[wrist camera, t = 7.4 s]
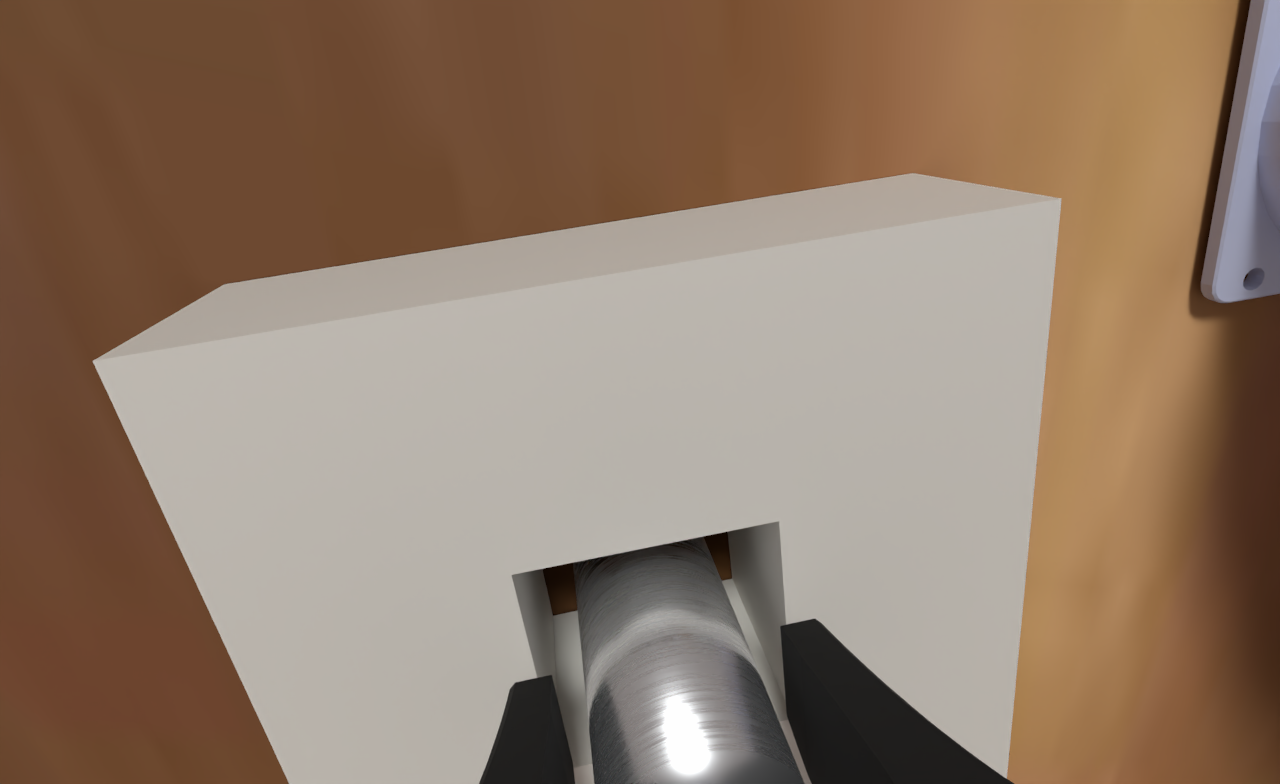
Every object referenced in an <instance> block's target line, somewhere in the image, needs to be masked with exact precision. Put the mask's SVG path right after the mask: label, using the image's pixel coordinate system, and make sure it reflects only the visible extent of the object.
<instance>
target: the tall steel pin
mask: <svg viewBox="0 0 1280 784" xmlns="http://www.w3.org/2000/svg"><path fill="white" fill-rule="evenodd" d="M573 570H574V580H575V591H576V601H577V611H578V621H579V632H580V642H581V652H582V662H583V673H584V683H585V693H586V703H587V714H588V724H589V734H590V744H591V755H592V765H593V775H594V784H805V783H804V781H803V778H802V776H801V774H800V771H799V769H798V766H797V764H796V761H795V759H794V756H793V754H792V752H791V749H790V747H789V744H788V742H787V739H786V737H785V734H784V732H783V730H782V727H781V725H780V722H779V720H778V717H777V715H776V712H775V710H774V708H773V705H772V703H771V700H770V698H769V695H768V693H767V690H766V688H765V686H764V683H763V681H762V678H761V676H760V673H759V671H758V668H757V666H756V664H755V661H754V659H753V656H752V654H751V651H750V649H749V646H748V644H747V642H746V639H745V637H744V634H743V632H742V629H741V627H740V624H739V622H738V620H737V617H736V615H735V612H734V610H733V607H732V605H731V602H730V600H729V598H728V595H727V593H726V590H725V588H724V585H723V583H722V580H721V578H720V576H719V573H718V571H717V568H716V566H715V563H714V561H713V558H712V556H711V554H710V551H709V549H708V546H707V544H706V541H705V539H704V536H703V537H698V538H693V539H688V540H683V541H678V542H673V543H668V544H663V545H658V546H653V547H648V548H643V549H638V550H633V551H628V552H623V553H618V554H613V555H608V556H603V557H598V558H593V559H588V560H583V561H579V562H574V563H573Z"/></svg>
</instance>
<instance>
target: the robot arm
mask: <svg viewBox="0 0 1280 784" xmlns="http://www.w3.org/2000/svg"><path fill="white" fill-rule="evenodd" d="M1247 273H1248V276H1247V278H1246V280H1245V281H1244V278H1245V276H1246V274H1247ZM1243 281H1244V282H1243ZM1201 292H1202V294H1203V296H1204V297H1206V298H1207V299H1209V300H1212V301H1215V302H1219V303H1232V302H1237V301H1243V300H1248V299H1254V298H1259V297H1264V296H1270V295H1275V294H1280V0H1251V2H1250V8H1249V14H1248V19H1247V25H1246V31H1245V36H1244V42H1243V48H1242V53H1241V59H1240V64H1239V70H1238V76H1237V81H1236V87H1235V93H1234V98H1233V104H1232V110H1231V115H1230V121H1229V127H1228V132H1227V138H1226V143H1225V149H1224V155H1223V160H1222V166H1221V172H1220V177H1219V183H1218V189H1217V194H1216V200H1215V206H1214V211H1213V217H1212V222H1211V228H1210V234H1209V239H1208V245H1207V251H1206V256H1205V262H1204V268H1203V273H1202V279H1201ZM780 630H781V644H782V658H783V671H784V685H785V699H786V712H787V718H788V721H789V723H790V726H791V729H792V732H793V735H794V738H795V741H796V744H797V747H798V749H799V752H800V755H801V758H802V760H803V763H804V766H805V769H806V771H807V774H808V777H809V779H810V781H811V783H812V784H1014V783H1012V782H1011V781H1009V780H1008V779H1006V778H1005V777H1003V776H1002V775H1000V774H999V773H998V772H996V771H995V770H993V769H992V768H990V767H989V766H988V765H986V764H985V763H984V762H982V761H981V760H979V759H978V758H977V757H975V756H974V755H973V754H971V753H970V752H969V751H967V750H966V749H965V748H963V747H962V746H961V745H959V744H958V743H957V742H955V741H954V740H953V739H952V738H950V737H949V736H948V735H946V734H945V733H944V732H943V731H941V730H940V729H939V728H937V727H936V726H935V725H934V724H932V723H931V722H930V721H929V720H928V719H926V718H925V717H924V716H923V715H921V714H920V713H919V712H918V711H917V710H915V709H914V708H913V707H912V706H911V705H910V704H908V703H907V702H906V701H905V700H904V699H903V698H901V697H900V696H899V695H898V694H897V693H896V692H894V691H893V690H892V689H891V688H890V687H889V686H887V685H886V684H885V683H884V682H883V681H882V680H881V679H880V678H878V677H877V676H876V675H875V674H874V673H873V672H872V671H871V670H870V669H869V668H868V667H866V666H865V665H864V664H863V663H862V662H861V661H860V660H859V659H858V658H857V657H856V656H855V655H854V654H853V653H851V652H850V651H849V650H848V649H847V648H846V647H845V646H844V645H843V644H842V643H841V642H840V641H839V640H838V639H837V638H836V637H835V636H834V635H833V634H832V633H831V632H830V631H829V630H828V629H827V628H826V627H825V626H824V625H823V624H822V623H821V622H819V621H818V620H816V619H810V620H806V621H801V622H796V623H791V624H787V625H782V626H780ZM479 784H575V778H574V768H573V761H572V757H571V753H570V749H569V744H568V740H567V736H566V732H565V728H564V724H563V719H562V715H561V711H560V707H559V703H558V699H557V694H556V690H555V686H554V682H553V678H552V675H548V676H543V677H539V678H534V679H529V680H525V681H520V682H515V683H514V685H513V686H512V687H511V688H510V690H509V694H508V698H507V702H506V706H505V709H504V713H503V716H502V720H501V723H500V726H499V729H498V733H497V736H496V739H495V741H494V744H493V747H492V750H491V753H490V756H489V759H488V762H487V764H486V767H485V769H484V772H483V775H482V777H481V780H480V782H479Z"/></svg>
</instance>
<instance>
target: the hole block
mask: <svg viewBox="0 0 1280 784" xmlns="http://www.w3.org/2000/svg"><path fill="white" fill-rule="evenodd" d="M1060 209H1061V198H1055V197H1049V196H1043V195H1038V194H1032V193H1026V192H1020V191H1014V190H1008V189H1002V188H997V187H991V186H985V185H979V184H973V183H967V182H961V181H956V180H950V179H944V178H938V177H932V176H926V175H921V174H915V173H911V174H905V175H899V176H893V177H886V178H880V179H874V180H868V181H862V182H855V183H849V184H843V185H837V186H831V187H825V188H818V189H812V190H806V191H800V192H794V193H787V194H781V195H775V196H769V197H763V198H756V199H750V200H744V201H738V202H732V203H726V204H719V205H713V206H707V207H701V208H695V209H688V210H682V211H676V212H670V213H664V214H657V215H651V216H645V217H639V218H633V219H626V220H620V221H614V222H608V223H602V224H596V225H589V226H583V227H577V228H571V229H565V230H558V231H552V232H546V233H540V234H534V235H527V236H521V237H515V238H509V239H503V240H497V241H490V242H484V243H478V244H472V245H466V246H459V247H453V248H447V249H441V250H435V251H428V252H422V253H416V254H410V255H404V256H397V257H391V258H385V259H379V260H373V261H367V262H360V263H354V264H348V265H342V266H336V267H329V268H323V269H317V270H311V271H305V272H298V273H292V274H286V275H280V276H274V277H268V278H261V279H255V280H249V281H243V282H237V283H230V284H224V285H223V286H221V287H219V288H217V289H216V290H214V291H212V292H211V293H209V294H207V295H205V296H204V297H202V298H200V299H199V300H197V301H195V302H193V303H192V304H190V305H188V306H186V307H185V308H183V309H181V310H180V311H178V312H176V313H174V314H173V315H171V316H169V317H168V318H166V319H164V320H162V321H161V322H159V323H157V324H156V325H154V326H152V327H150V328H149V329H147V330H145V331H144V332H142V333H140V334H138V335H137V336H135V337H133V338H132V339H130V340H128V341H126V342H125V343H123V344H121V345H119V346H118V347H116V348H114V349H113V350H111V351H109V352H107V353H106V354H104V355H102V356H101V357H99V358H97V359H95V360H94V361H93V363H94V365H95V367H96V369H97V371H98V374H99V376H100V378H101V380H102V382H103V384H104V387H105V389H106V391H107V393H108V395H109V397H110V399H111V402H112V404H113V406H114V408H115V410H116V412H117V414H118V417H119V419H120V421H121V423H122V425H123V427H124V430H125V432H126V434H127V436H128V438H129V440H130V442H131V445H132V447H133V449H134V451H135V453H136V455H137V457H138V460H139V462H140V464H141V466H142V468H143V470H144V472H145V475H146V477H147V479H148V481H149V483H150V485H151V488H152V490H153V492H154V494H155V496H156V498H157V500H158V503H159V505H160V507H161V509H162V511H163V513H164V515H165V518H166V520H167V522H168V524H169V526H170V528H171V531H172V533H173V535H174V537H175V539H176V541H177V543H178V546H179V548H180V550H181V552H182V554H183V556H184V558H185V561H186V563H187V565H188V567H189V569H190V571H191V574H192V576H193V578H194V580H195V582H196V584H197V586H198V589H199V591H200V593H201V595H202V597H203V599H204V601H205V604H206V606H207V608H208V610H209V612H210V614H211V616H212V619H213V621H214V623H215V625H216V627H217V629H218V632H219V634H220V636H221V638H222V640H223V642H224V644H225V647H226V649H227V651H228V653H229V655H230V657H231V659H232V662H233V664H234V666H235V668H236V670H237V672H238V675H239V677H240V679H241V681H242V683H243V685H244V687H245V690H246V692H247V694H248V696H249V698H250V700H251V702H252V705H253V707H254V709H255V711H256V713H257V715H258V717H259V720H260V722H261V724H262V726H263V728H264V730H265V733H266V735H267V737H268V739H269V741H270V743H271V745H272V748H273V750H274V752H275V754H276V756H277V758H278V760H279V763H280V765H281V767H282V769H283V771H284V773H285V776H286V778H287V780H288V782H289V784H479V782H480V780H481V777H482V775H483V772H484V769H485V767H486V764H487V762H488V759H489V756H490V753H491V750H492V747H493V744H494V741H495V739H496V736H497V733H498V729H499V726H500V723H501V720H502V716H503V713H504V709H505V706H506V702H507V698H508V694H509V690H510V688H511V687H512V686H513V685H514V683H515V682H520V681H525V680H529V679H534V678H539V677H543V676H548V675H552V678H553V682H554V686H555V690H556V694H557V699H558V703H559V707H560V711H561V715H562V719H563V724H564V728H565V732H566V736H567V740H568V744H569V749H570V753H571V757H572V761H573V768H574V778H575V784H594V775H593V765H592V755H591V744H590V734H589V724H588V714H587V703H586V693H585V683H584V673H583V662H582V652H581V642H580V632H579V621H578V611H573V612H568V613H564V614H559V615H554V616H553V613H552V609H551V604H550V600H549V596H548V591H547V587H546V583H545V578H544V574H543V570H542V569H544V568H549V567H554V566H559V565H564V564H569V563H574V562H579V561H583V560H588V559H593V558H598V557H603V556H608V555H613V554H618V553H623V552H628V551H633V550H638V549H643V548H648V547H653V546H658V545H663V544H668V543H673V542H678V541H683V540H688V539H693V538H698V537H703V536H708V535H713V534H718V533H723V532H727V533H728V543H729V553H730V562H731V572H732V579H728V580H723V581H722V583H723V585H724V588H725V590H726V593H727V595H728V598H729V600H730V602H731V605H732V607H733V610H734V612H735V615H736V617H737V620H738V622H739V624H740V627H741V629H742V632H743V634H744V637H745V639H746V642H747V644H748V646H749V649H750V651H751V654H752V656H753V659H754V661H755V664H756V666H757V668H758V671H759V673H760V676H761V678H762V681H763V683H764V686H765V688H766V690H767V693H768V695H769V698H770V700H771V703H772V705H773V708H774V710H775V712H776V715H777V717H778V720H779V722H780V725H781V727H782V730H783V732H784V734H785V737H786V739H787V742H788V744H789V747H790V749H791V752H792V754H793V756H794V759H795V761H796V764H797V766H798V769H799V771H800V774H801V776H802V778H803V781H804V783H805V784H812V783H811V781H810V779H809V777H808V774H807V771H806V769H805V766H804V763H803V760H802V758H801V755H800V752H799V749H798V747H797V744H796V741H795V738H794V735H793V732H792V729H791V726H790V723H789V721H788V718H787V712H786V699H785V685H784V671H783V658H782V644H781V630H780V626H782V625H787V624H791V623H796V622H801V621H806V620H810V619H816V620H818V621H819V622H821V623H822V624H823V625H824V626H825V627H826V628H827V629H828V630H829V631H830V632H831V633H832V634H833V635H834V636H835V637H836V638H837V639H838V640H839V641H840V642H841V643H842V644H843V645H844V646H845V647H846V648H847V649H848V650H849V651H850V652H851V653H853V654H854V655H855V656H856V657H857V658H858V659H859V660H860V661H861V662H862V663H863V664H864V665H865V666H866V667H868V668H869V669H870V670H871V671H872V672H873V673H874V674H875V675H876V676H877V677H878V678H880V679H881V680H882V681H883V682H884V683H885V684H886V685H887V686H889V687H890V688H891V689H892V690H893V691H894V692H896V693H897V694H898V695H899V696H900V697H901V698H903V699H904V700H905V701H906V702H907V703H908V704H910V705H911V706H912V707H913V708H914V709H915V710H917V711H918V712H919V713H920V714H921V715H923V716H924V717H925V718H926V719H928V720H929V721H930V722H931V723H932V724H934V725H935V726H936V727H937V728H939V729H940V730H941V731H943V732H944V733H945V734H946V735H948V736H949V737H950V738H952V739H953V740H954V741H955V742H957V743H958V744H959V745H961V746H962V747H963V748H965V749H966V750H967V751H969V752H970V753H971V754H973V755H974V756H975V757H977V758H978V759H979V760H981V761H982V762H984V763H985V764H986V765H988V766H989V767H990V768H992V769H993V770H995V771H996V772H998V773H999V774H1000V775H1002V776H1003V777H1005V778H1006V779H1007V769H1008V759H1009V748H1010V738H1011V727H1012V717H1013V706H1014V695H1015V685H1016V674H1017V664H1018V653H1019V643H1020V632H1021V621H1022V611H1023V600H1024V590H1025V579H1026V568H1027V558H1028V547H1029V537H1030V526H1031V516H1032V505H1033V494H1034V484H1035V473H1036V463H1037V452H1038V442H1039V431H1040V420H1041V410H1042V399H1043V389H1044V378H1045V367H1046V357H1047V346H1048V336H1049V325H1050V315H1051V304H1052V293H1053V283H1054V272H1055V262H1056V251H1057V241H1058V230H1059V219H1060Z"/></svg>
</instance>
